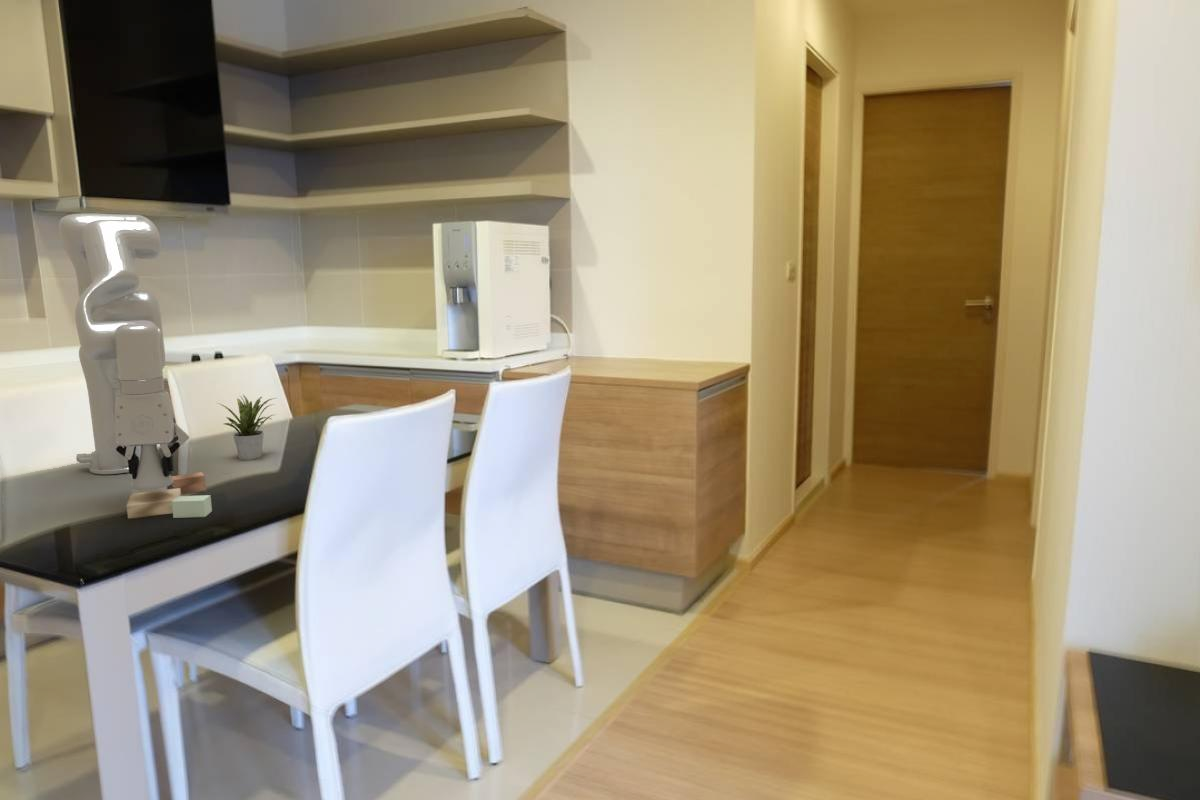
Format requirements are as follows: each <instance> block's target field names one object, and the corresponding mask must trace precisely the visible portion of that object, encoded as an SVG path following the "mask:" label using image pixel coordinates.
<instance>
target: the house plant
mask: <svg viewBox="0 0 1200 800" xmlns="http://www.w3.org/2000/svg"><path fill="white" fill-rule="evenodd" d="M242 396H243V397H242ZM239 397H240V398H241V399H240V398H237V400H236V401H237V405H238V412H239V417H238V415H236V413H235V412H233V410H231V408H229V407H228V406H226V405H223V404H221V403H216V404H218V405H220V406H222V407H224V408H225V409H226V410H227V411H229V412H230V413H231V415H232V416H233V417H234V418H235V419H236V420H237V421H236V420H234V419H233V418H231V417H227V416H225V417H226V419H227V420H228V421H229V422H231V423H229V422H225V423H223V425H226V426H229V427H231V428H233V429H234V430H236V431H237V432H235V433H233V434H232V435H233V439H234V443H235V447H236V451H237V454H238V458H239V460H241V461H251V460H256V459H260V458H262V453H263V446H264V445H263V444H264V435H265V434H264V433H265V432H264V431H263V430H259V429H261V426H263V425H264V423H265V422H266V421H267V420H268V419H270V420H272V418H271V417H272V416H274V414H272V415H269V416H267V417H266V416H264V417H263V416H262V414H263V412H264V411H265V410H266V409H267V408H268V407H271V406H275V405H276V404H275V403H274V404H269V405H266V404H268V402H269V401H272V400H274V399H276V397H273V398H269V399H267V400H265V401H264V402H262V401H261V399H262V398H263V397H262V396H260V397H259V398H258V399H256V401H255V403H254V405H253V401H251V400H250V401H249V400H248V398H247V397H246V395H244V394H242V395H239ZM243 398H244V399H243ZM241 400H242V401H241ZM261 402H262V403H261ZM260 403H261V404H260ZM264 405H266V406H265V407H264ZM263 407H264V408H263ZM262 408H263V409H262ZM261 409H262V411H261ZM260 411H261V412H260ZM259 412H260V414H259ZM258 414H259V416H258V417H257V415H258ZM276 415H278V414H275V416H276ZM261 416H262V417H261ZM255 420H256V421H255ZM256 428H257V429H256Z"/></svg>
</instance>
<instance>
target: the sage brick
mask: <svg viewBox="0 0 1200 800" xmlns="http://www.w3.org/2000/svg"><path fill="white" fill-rule="evenodd" d="M212 507H213V506H212V497H211V495H210V494H209V495H208V494H206V495H181V496H179V497H177V498H176V499H175V500H173V501H172V509H173V513H172V516H173V517H172V518H173V519H175V518H176V519H177V518H178V519H181V518H182V519H183V518H184V519H185V518H205V517H207V516H208V515H210V513H211V512H212V511H213V508H212Z"/></svg>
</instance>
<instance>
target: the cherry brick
mask: <svg viewBox="0 0 1200 800" xmlns="http://www.w3.org/2000/svg"><path fill="white" fill-rule="evenodd" d="M171 477H172V478H173V480H174V483H172V484H171V487H172V488H171V489H176V488H180V489H181V495H184V494H185V495H186V494H191V493H197V492H203V491H207V488H206V478H205V477H206V476H205V474H204V473H203V472H202V471H200V472H199V471H198V472H192V473H185V474H178V475H171Z"/></svg>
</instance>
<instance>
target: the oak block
mask: <svg viewBox="0 0 1200 800" xmlns="http://www.w3.org/2000/svg"><path fill="white" fill-rule="evenodd" d="M179 496H182V494H181V489H180V488H176V489H172V488H169V489H168V488H167V490H158V491H150V492H141V493H132V492H131V493H130V495H129V499H128V501H127V504H126V511H127V519H136V518H145V517H152V516H162V515H169V514H173V509H172V501H173V500H175V499H176V498H177V497H179Z"/></svg>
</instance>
